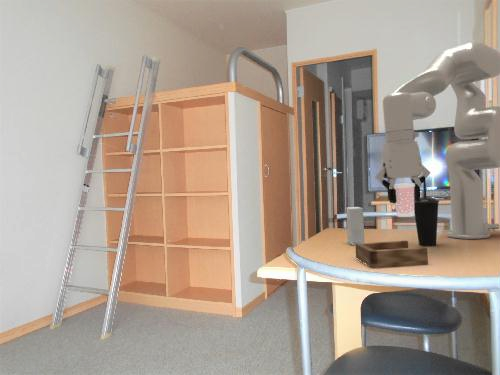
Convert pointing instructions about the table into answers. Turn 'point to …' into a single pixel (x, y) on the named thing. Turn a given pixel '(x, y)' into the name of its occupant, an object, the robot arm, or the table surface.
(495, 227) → the robot arm
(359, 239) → the skincare box
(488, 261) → the table surface
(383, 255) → the dark wooden tray
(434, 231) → the drinking cup
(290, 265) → the table surface
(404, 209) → the beverage cup
